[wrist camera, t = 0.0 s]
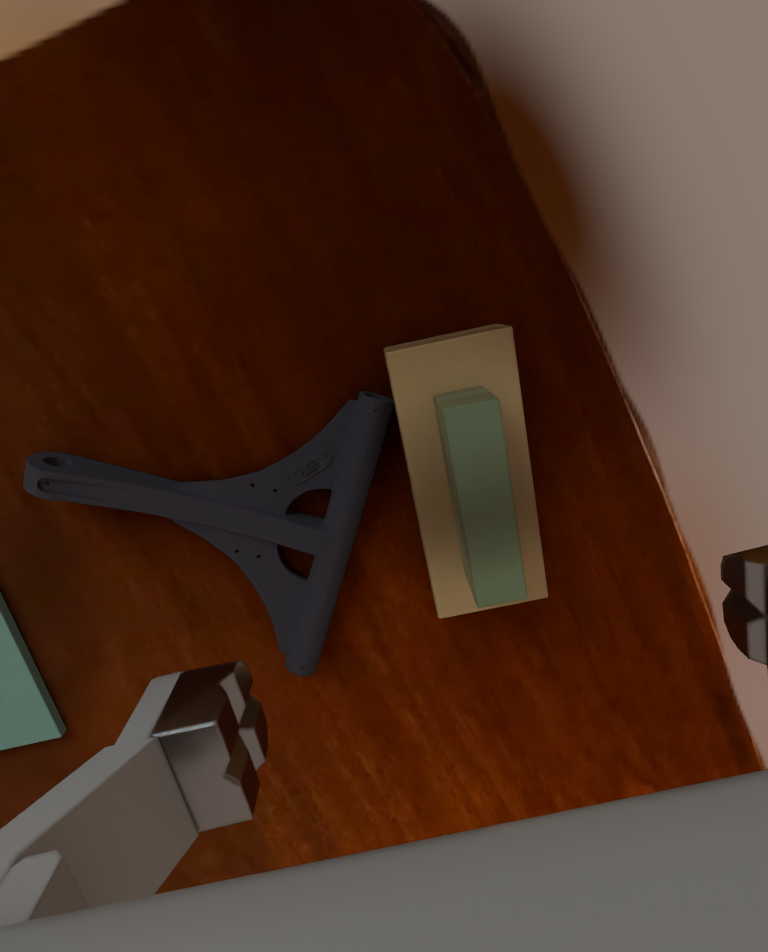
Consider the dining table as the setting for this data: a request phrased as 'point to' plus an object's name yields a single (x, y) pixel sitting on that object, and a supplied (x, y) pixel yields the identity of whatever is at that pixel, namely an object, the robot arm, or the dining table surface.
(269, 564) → the bracket
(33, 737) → the mat
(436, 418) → the brush
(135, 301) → the dining table surface
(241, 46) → the dining table surface
